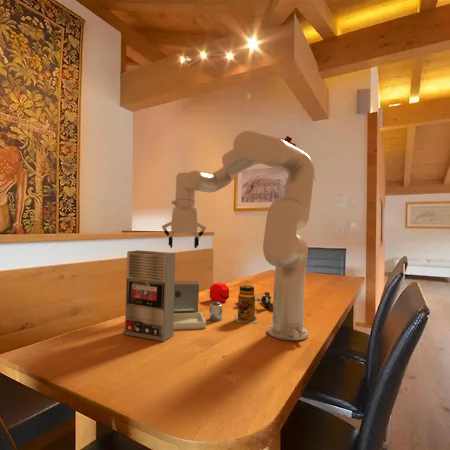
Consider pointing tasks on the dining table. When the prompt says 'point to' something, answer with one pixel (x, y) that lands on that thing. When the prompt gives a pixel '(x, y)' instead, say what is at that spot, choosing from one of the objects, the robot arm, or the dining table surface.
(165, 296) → the cassette tape recorder
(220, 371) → the dining table surface
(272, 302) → the valve rest
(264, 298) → the valve
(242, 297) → the condiment
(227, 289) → the ball
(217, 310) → the cylinder
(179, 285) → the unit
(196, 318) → the tray
